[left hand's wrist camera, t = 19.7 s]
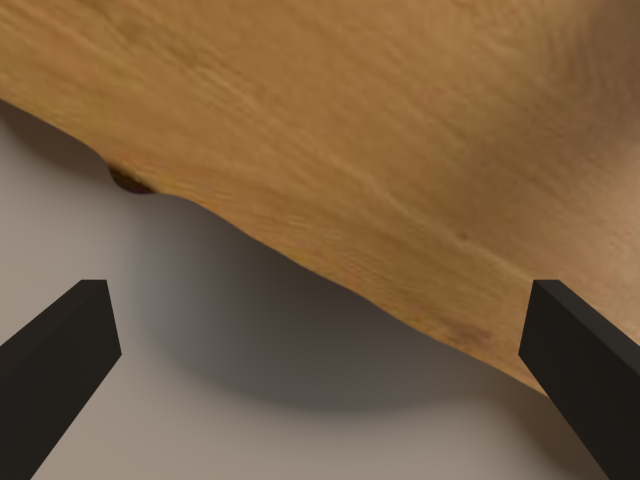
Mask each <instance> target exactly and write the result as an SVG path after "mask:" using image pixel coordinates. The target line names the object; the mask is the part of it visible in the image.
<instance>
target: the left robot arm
mask: <svg viewBox="0 0 640 480" xmlns="http://www.w3.org/2000/svg"><path fill="white" fill-rule="evenodd" d="M121 355H122V353H121V348H120V343H119V339H118V334H117V329H116V324H115V319H114V314H113V309H112V305H111V300H110V295H109V290H108V285H107V281H106V280H81V281H79V282H78V283H77V284H76V285H74V286H73V287H72V288H71V289H70V290H68V291H67V292H66V293H65V294H63V295H62V296H61V297H60V298H59V299H57V300H56V301H55V302H54V303H52V304H51V305H50V306H49V307H48V308H46V309H45V310H44V311H43V312H42V313H40V314H39V315H38V316H37V317H35V318H34V319H33V320H32V321H31V322H29V323H28V324H27V325H26V326H24V327H23V328H22V329H21V330H20V331H18V332H17V333H16V334H15V335H13V336H12V337H11V338H10V339H9V340H7V341H6V342H5V343H4V344H2V345H1V346H0V480H30V479H31V478H32V477H33V475H34V474H35V473H36V471H37V470H38V468H39V467H40V466H41V464H42V463H43V462H44V460H45V459H46V458H47V456H48V455H49V453H50V452H51V451H52V449H53V448H54V447H55V445H56V444H57V442H58V441H59V440H60V438H61V437H62V436H63V434H64V433H65V432H66V430H67V429H68V427H69V426H70V425H71V423H72V422H73V421H74V419H75V418H76V416H77V415H78V414H79V412H80V411H81V410H82V408H83V407H84V406H85V404H86V403H87V402H88V400H89V399H90V397H91V396H92V395H93V393H94V392H95V391H96V389H97V388H98V386H99V385H100V384H101V382H102V381H103V380H104V378H105V377H106V375H107V374H108V373H109V371H110V370H111V369H112V367H113V366H114V365H115V363H116V362H117V361H118V359H119V358H120V356H121ZM518 355H519V356H520V358H521V359H522V361H523V362H524V363H525V365H526V366H527V367H528V369H529V370H530V371H531V373H532V374H533V376H534V377H535V378H536V380H537V381H538V382H539V384H540V385H541V387H542V388H543V389H544V391H545V392H546V393H547V395H548V396H549V397H550V399H551V400H552V402H553V403H554V404H555V406H556V407H557V408H558V410H559V411H560V412H561V414H562V415H563V417H564V418H565V419H566V421H567V422H568V423H569V425H570V426H571V427H572V429H573V430H574V431H575V433H576V434H577V436H578V437H579V438H580V440H581V441H582V442H583V444H584V445H585V447H586V448H587V449H588V451H589V452H590V453H591V455H592V456H593V457H594V459H595V460H596V462H597V463H598V464H599V466H600V467H601V468H602V470H603V471H604V473H605V474H606V475H607V477H608V478H609V479H610V480H640V346H639V345H638V344H636V343H635V342H634V341H633V340H631V339H630V338H629V337H628V336H627V335H625V334H624V333H623V332H622V331H620V330H619V329H618V328H617V327H616V326H614V325H613V324H612V323H611V322H609V321H608V320H607V319H606V318H605V317H603V316H602V315H601V314H600V313H599V312H597V311H596V310H595V309H594V308H592V307H591V306H590V305H589V304H588V303H586V302H585V301H584V300H583V299H581V298H580V297H579V296H578V295H577V294H575V293H574V292H573V291H572V290H570V289H569V288H568V287H567V286H566V285H564V284H563V283H562V282H561V281H559V280H533V285H532V290H531V295H530V300H529V305H528V309H527V314H526V319H525V324H524V329H523V334H522V338H521V343H520V348H519V353H518Z"/></svg>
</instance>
